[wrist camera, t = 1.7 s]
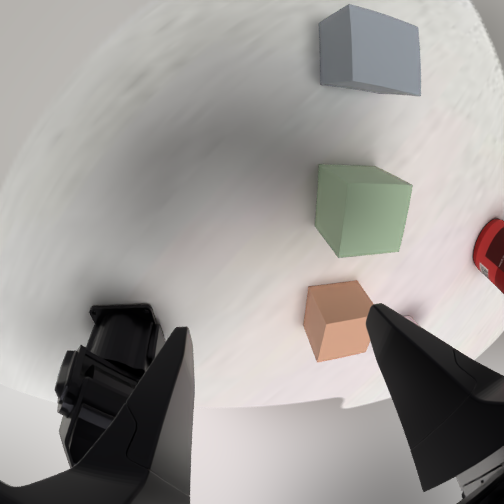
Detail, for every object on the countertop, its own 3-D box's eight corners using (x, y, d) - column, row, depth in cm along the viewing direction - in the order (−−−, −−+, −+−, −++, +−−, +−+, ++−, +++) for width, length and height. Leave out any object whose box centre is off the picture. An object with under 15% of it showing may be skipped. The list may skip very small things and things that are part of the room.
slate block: (320, 84, 16) (352, 80, 12) (318, 23, 14) (349, 4, 9) (379, 93, 17) (420, 96, 12) (378, 36, 14) (418, 27, 10)
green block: (314, 225, 22) (338, 257, 17) (318, 164, 19) (348, 183, 15) (367, 222, 22) (398, 251, 18) (375, 166, 20) (412, 185, 15)
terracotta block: (303, 324, 27) (317, 362, 23) (308, 286, 25) (326, 324, 20) (347, 317, 28) (365, 351, 23) (356, 280, 25) (380, 313, 21)
